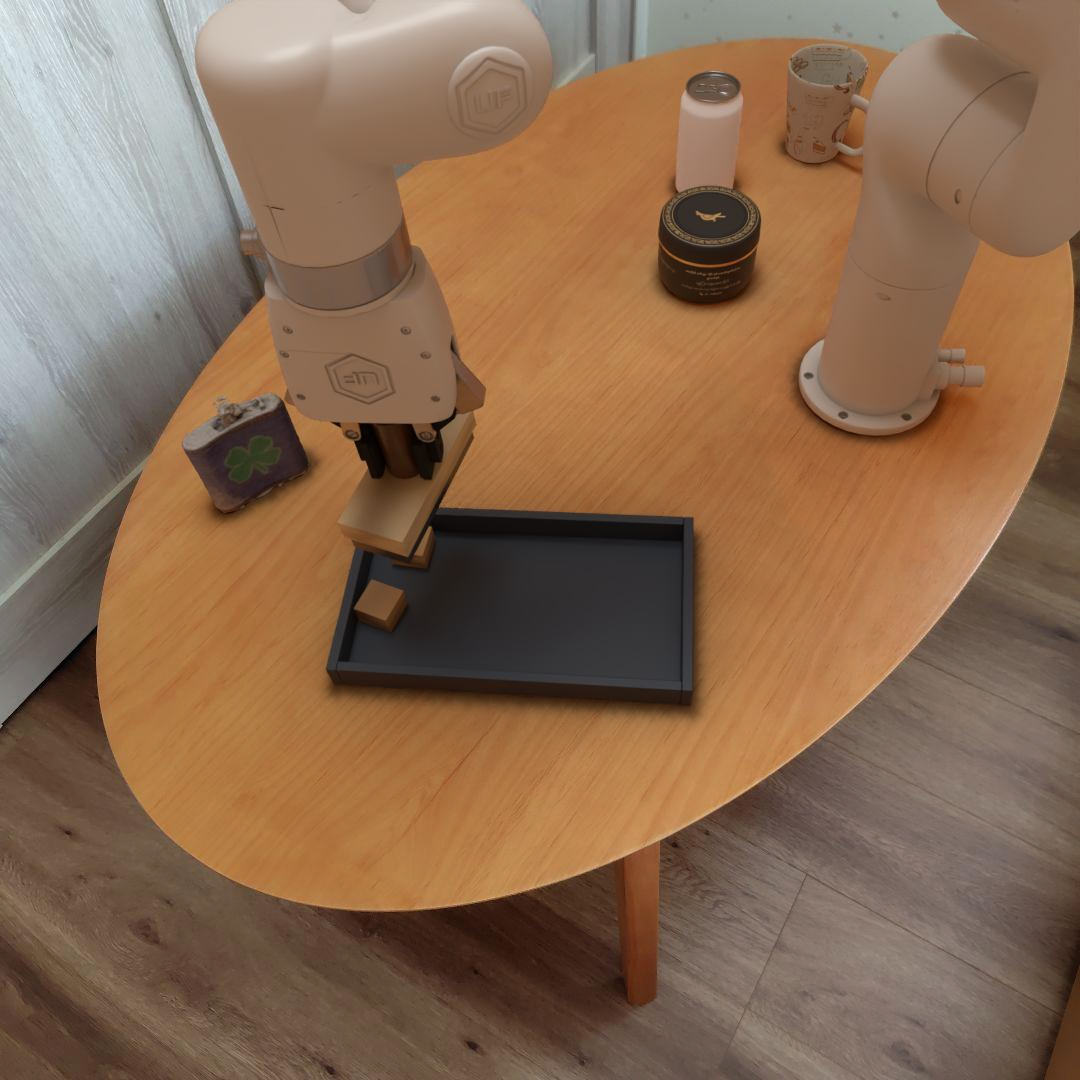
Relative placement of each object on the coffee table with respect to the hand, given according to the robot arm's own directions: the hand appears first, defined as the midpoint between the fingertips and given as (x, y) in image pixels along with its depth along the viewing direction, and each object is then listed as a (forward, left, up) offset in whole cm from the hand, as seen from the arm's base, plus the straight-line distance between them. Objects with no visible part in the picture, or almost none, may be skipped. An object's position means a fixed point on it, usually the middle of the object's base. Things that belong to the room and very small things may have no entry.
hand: (405, 461), depth 66 cm
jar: (-22, -39, -16) cm, 48 cm away
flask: (+18, -10, -16) cm, 26 cm away
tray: (-7, +2, -16) cm, 18 cm away
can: (-22, -54, -16) cm, 60 cm away
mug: (-36, -60, -16) cm, 72 cm away
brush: (0, 0, -4) cm, 4 cm away
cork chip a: (+3, -2, -15) cm, 16 cm away
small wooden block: (+4, +3, -15) cm, 16 cm away
